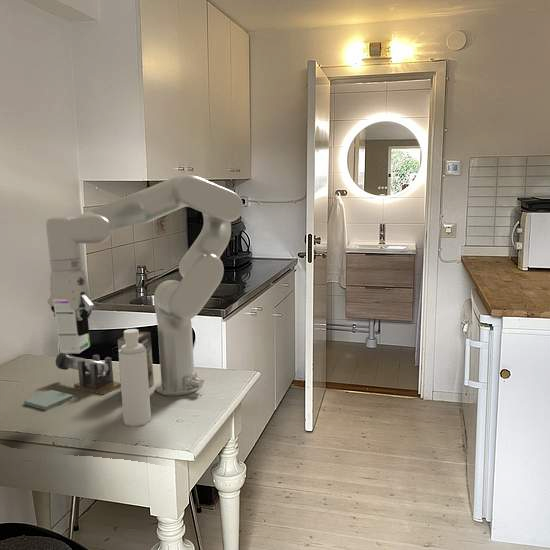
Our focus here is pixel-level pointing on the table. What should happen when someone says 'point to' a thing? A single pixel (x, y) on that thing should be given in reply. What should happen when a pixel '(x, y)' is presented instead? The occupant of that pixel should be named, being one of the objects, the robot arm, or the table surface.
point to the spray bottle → (134, 380)
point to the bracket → (96, 377)
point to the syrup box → (68, 328)
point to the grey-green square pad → (48, 399)
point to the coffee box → (146, 341)
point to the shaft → (69, 361)
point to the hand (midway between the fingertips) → (73, 332)
